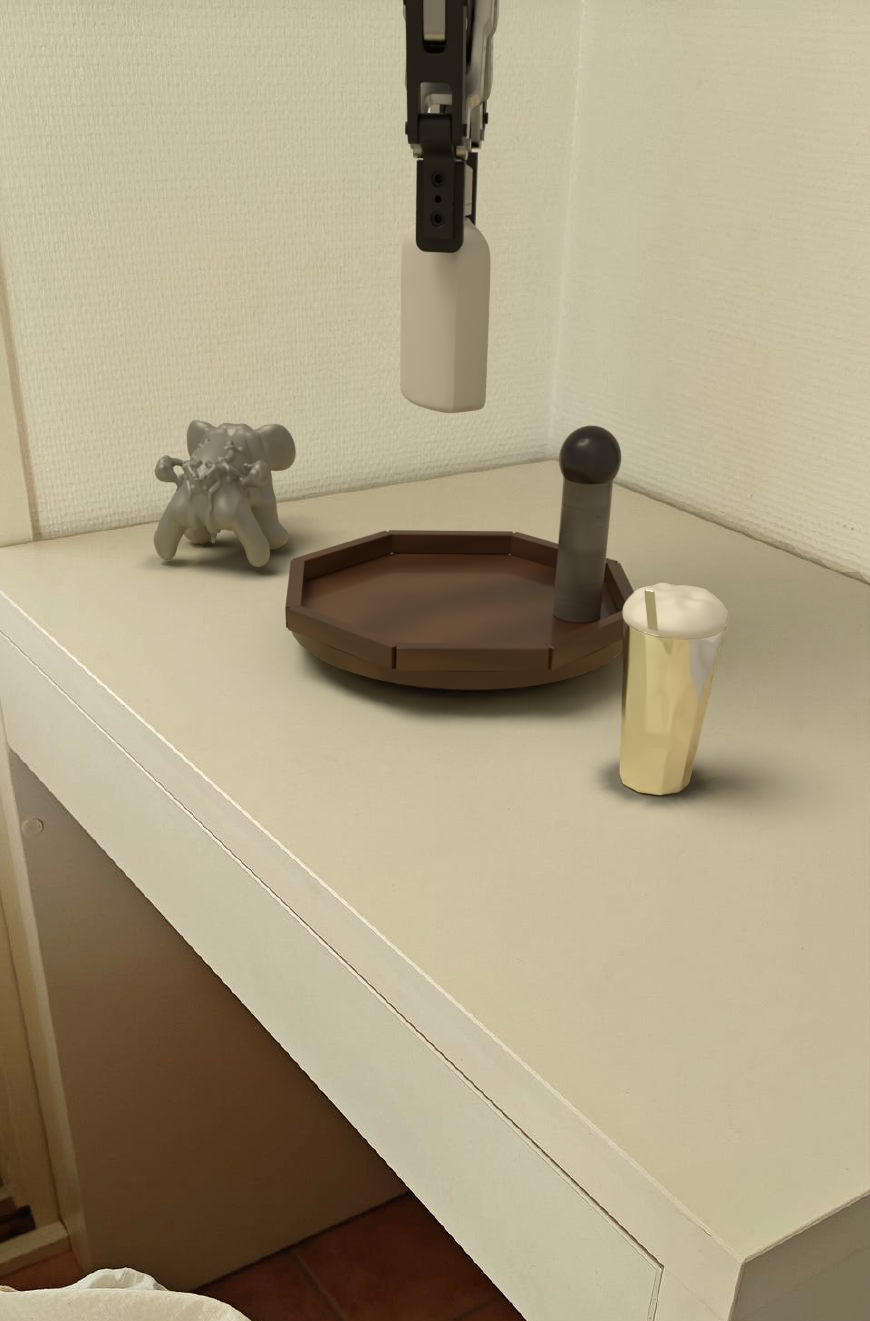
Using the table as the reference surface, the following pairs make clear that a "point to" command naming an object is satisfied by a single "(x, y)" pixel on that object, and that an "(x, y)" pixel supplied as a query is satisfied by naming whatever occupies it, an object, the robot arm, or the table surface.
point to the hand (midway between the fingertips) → (446, 241)
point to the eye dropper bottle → (446, 321)
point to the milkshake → (666, 682)
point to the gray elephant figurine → (226, 488)
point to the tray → (474, 594)
